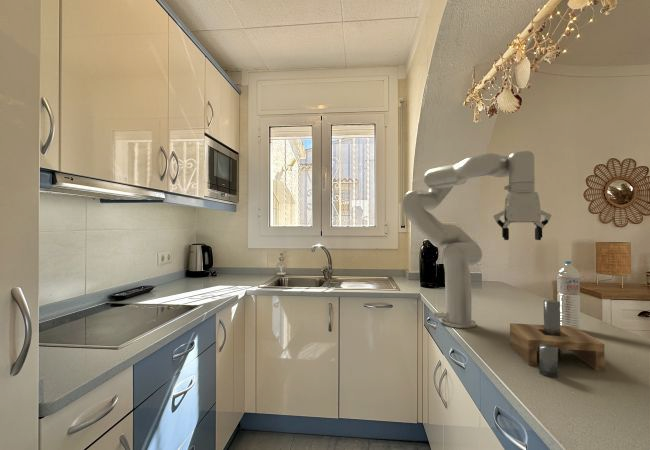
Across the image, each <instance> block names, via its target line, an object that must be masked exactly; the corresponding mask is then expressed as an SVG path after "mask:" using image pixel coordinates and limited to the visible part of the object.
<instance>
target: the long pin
mask: <svg viewBox="0 0 650 450" xmlns="http://www.w3.org/2000/svg"><path fill="white" fill-rule="evenodd" d="M543 325H544V335H550V336H561V335H560V302H558V301H557V300H553V299H551V300H550V299H545V300H543ZM561 350H562V349H558V360H561V358H562V357H561V356H562V353H561Z"/></svg>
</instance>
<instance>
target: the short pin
mask: <svg viewBox="0 0 650 450" xmlns="http://www.w3.org/2000/svg"><path fill="white" fill-rule="evenodd" d="M538 352H539V354H538V355H539V356H538V357H539V360H538V361H539V374H540V375H541V376H544V377H547V378H551V379H553V378H554V379H555V378H558V377H559V359H558V348H557V347H556V346H553V345H548V344H540V345H539V349H538Z"/></svg>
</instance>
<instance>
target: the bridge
mask: <svg viewBox="0 0 650 450" xmlns="http://www.w3.org/2000/svg"><path fill="white" fill-rule="evenodd" d="M560 335H561V336H550V335H544V324H532V323H529V324H528V323H509V345H510V346H509V347H511V348H512V349H513V350H514V351H515V353H517V355H518V356H520V357H521V359H522V360H523V361H524V362H525V363H526V364H527V365H528V366H532V367H533V366H534V367H537V366H538V363H537V361H538V358H537V357H538V356H537V355H538V354H537V353H538V352H537V349H538V348H539V345H540V344H548V345H553V346H556V347H557V348H558V349H561V350H567V351H569V352H570V353H572V354H573V355H575V356H576V357H577V358H579V359H580V360H581V361H583V362H584V363H585V364H587V365H588V366H589V367H591V368H592V369H594V370H595V371H601V372H605V369H606V368H605V367H606V365H605V364H606V363H605V360H606V359H605V357H606V356H605V354H606V353H605V352H606V351H605V343H603V342H602V341H600V340H599V339H596V338H595V337H593V336H592V335H590V334H588V333H586V332H584V331H583V330H581V329H580V330H579V329H577V328H576V327H574V326H560Z"/></svg>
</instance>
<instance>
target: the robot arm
mask: <svg viewBox="0 0 650 450" xmlns="http://www.w3.org/2000/svg"><path fill="white" fill-rule="evenodd" d="M484 176H491V177H494V178H507V177H508V184H507V185H504V187H503V190H504V191H507V193H506V196H505V200H504V201H505V202H504V209H503V210H502V211H500V212H498V213H495V214H494V215H493V219H494V220H495V222H496V224H497V225H498V226H500V228H501V230H502V232H501V234H502V237H501V238H503V240H504V241H509V239H510V231H509V230H510V229H509V228H508V226H510V224H512V223H532V224H533V225H534V226H535V228H534V239H535V241H541V240H542V238H543V228H545V226H546V225H547V224H549V222H550V220H551V218H552V214H550V213H548V212H546V211H544V210H542V209H541V201H540V197H539V194H538V193H539V192H537V191H536V189H535V188H536V187H535V184H536V183H535V154H534V152H533V151H529V150H522V151H521V150H520V151H519V150H518V151H515V152H512V153H510V154H509V155H508V156H507V155H501V154H498V153H490V152H489V153H483V154H479V155H474V156H470V157H467V158H465V159H463V160H461V161H459V162H455V163H451V164H447V165H443V166H438V167H434V168H431V169H428V170H427V171H426V172H425V173H424V175H423V182H424V184H425V186H427V188H429V189H428V190H424V189H413V190H409V191H407V192H406V193H405V195H404V196H403V199H402V209H403V212H404V215H405V216H406V219H408V220H409V221H410V223H411V224H412V225H413V226H415V227H416V229H418V230H419V232H420V233H421V234H422V235H423V236H424V237H425V238H426V239H427V241H429V242H430V243H431V244H432V245H433V246H434V247H436V248H444V249H443V251H442V263H443V269H444V285H445V287H444V288H445V290H444V294H445V303H444V305H445V309H443V311H440V312H438V311H433V312H432V315H433V318H436V319H441V320H440V321H441V323H442V324H443V325H445V326H447V327H452V328H457V329H458V328H459V329H471V328H474V327H476V326H477V322H476V320H475V319H473V318H472V317H473V315H472V313H473V312H472V310H473V308H472V297H473V296H472V276H471V272H470V269H469V267H470V266H474V265H477V264H479V262H480V261H481V260H482V258H483V253H482V252H483V251H482V249H481V247H480V246H479V244H478V243H477V242H476V241H475V240H474V239H472V238H471V237H470V236H469V235H468V234H467V233H466V232H465V231H464V230H463V229H462V228H460V227H459V226H458V225H454V224H449V223H448V224H446V223H442V222H441V221H439V219H437V217H435V215H433V214H432V213H431V212H430V211H431V210H434V209H436V208H437V207H439V205H441V203H442V202H443V201H444V200H445V198H446V197H447V196H448V195H449V193H451V191H452V189H453V188H454V186H460V185H464V184H466V183H467V182H468V181H467V180H469V179H473V178H478V177H484ZM535 191H536V192H535ZM429 210H430V211H429ZM502 216H504V217H503V219H504V222H503V221H502V220H501V217H502ZM542 217H543V220H542Z"/></svg>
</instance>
